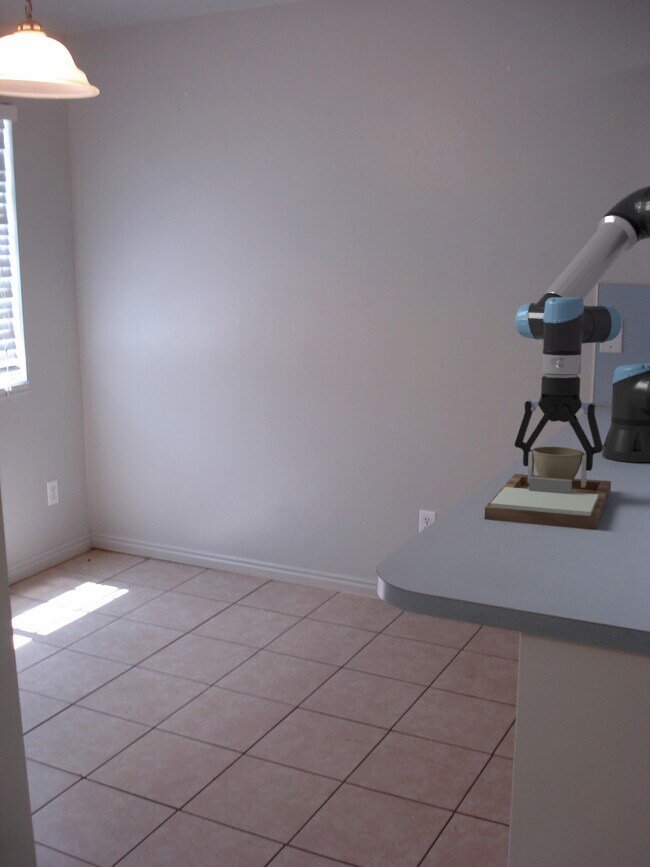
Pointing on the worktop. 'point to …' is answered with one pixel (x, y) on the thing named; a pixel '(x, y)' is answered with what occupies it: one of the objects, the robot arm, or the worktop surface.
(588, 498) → the lid
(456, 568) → the worktop surface
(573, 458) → the flower pot
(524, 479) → the wooden box
